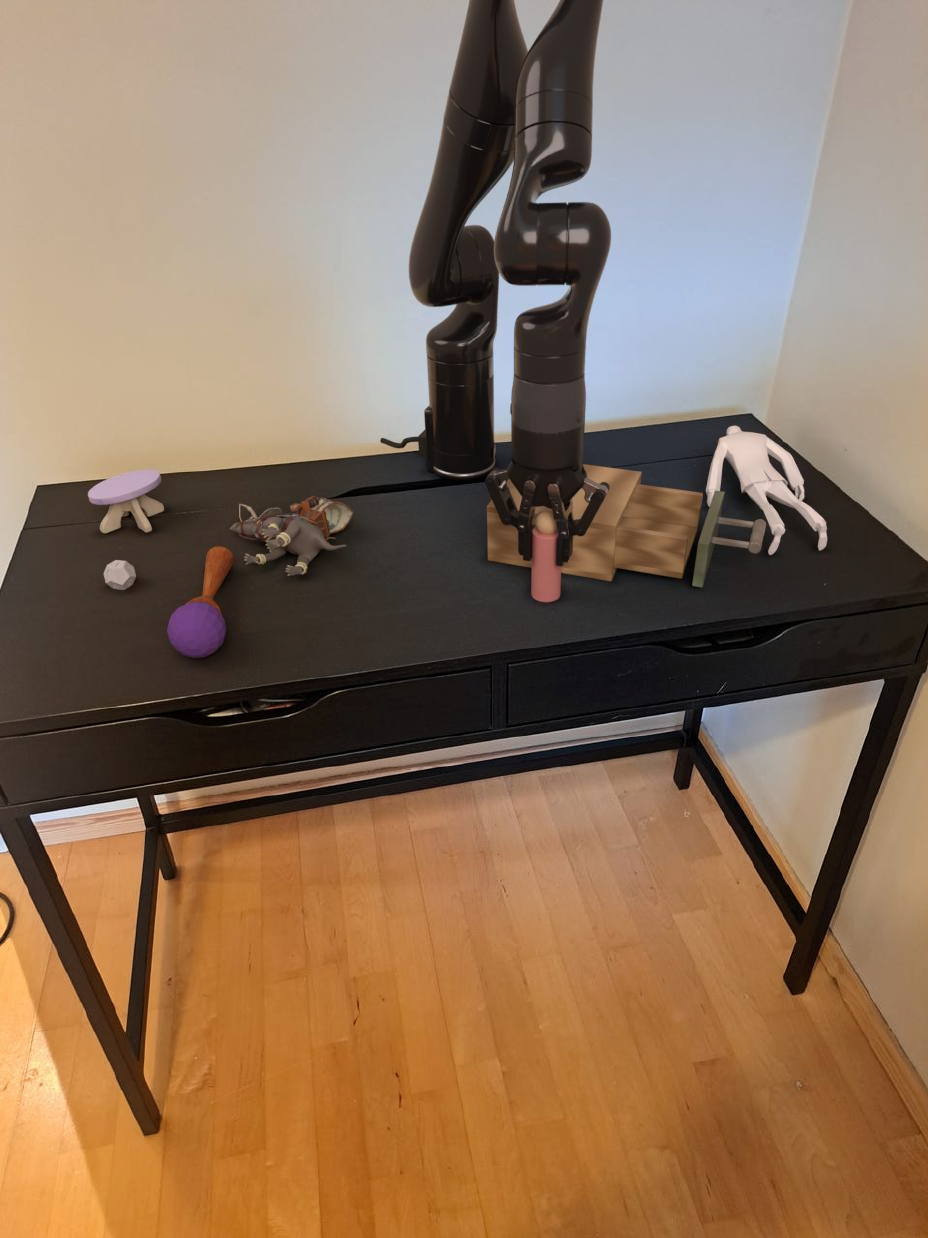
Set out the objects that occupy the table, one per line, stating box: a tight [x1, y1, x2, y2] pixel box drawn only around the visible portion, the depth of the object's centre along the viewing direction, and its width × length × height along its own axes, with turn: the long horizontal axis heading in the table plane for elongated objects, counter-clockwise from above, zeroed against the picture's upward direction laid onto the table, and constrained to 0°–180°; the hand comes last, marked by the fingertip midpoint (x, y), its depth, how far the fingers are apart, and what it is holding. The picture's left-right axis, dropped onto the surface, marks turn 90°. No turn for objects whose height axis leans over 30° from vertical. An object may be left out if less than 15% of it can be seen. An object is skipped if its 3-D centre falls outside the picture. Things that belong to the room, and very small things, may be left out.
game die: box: [103, 559, 137, 591], centre depth 108 cm, size 4×4×3 cm
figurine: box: [229, 495, 354, 577], centre depth 114 cm, size 20×6×17 cm
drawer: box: [614, 484, 767, 588], centre depth 108 cm, size 20×13×6 cm
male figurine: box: [705, 425, 828, 556], centre depth 119 cm, size 14×6×25 cm
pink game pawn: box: [530, 509, 562, 603], centre depth 102 cm, size 3×3×11 cm
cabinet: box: [486, 463, 643, 582], centre depth 112 cm, size 16×15×8 cm
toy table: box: [87, 468, 165, 534], centre depth 121 cm, size 10×9×6 cm
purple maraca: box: [166, 546, 235, 659], centre depth 102 cm, size 6×6×20 cm
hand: (544, 559), depth 101 cm, fingers closed on pink game pawn, 3 cm apart
